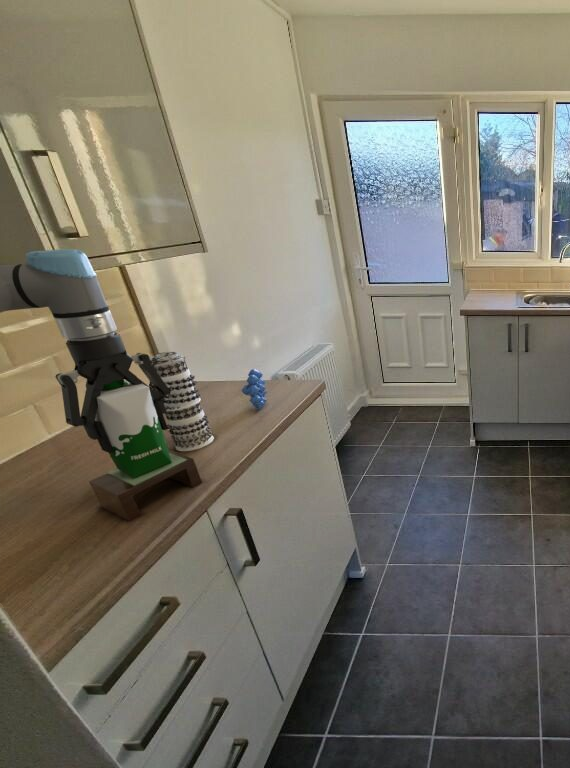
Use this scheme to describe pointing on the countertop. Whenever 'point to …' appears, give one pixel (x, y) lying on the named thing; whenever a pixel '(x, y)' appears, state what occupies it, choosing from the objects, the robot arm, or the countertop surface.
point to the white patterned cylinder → (182, 403)
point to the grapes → (255, 389)
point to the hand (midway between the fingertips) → (136, 439)
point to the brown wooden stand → (140, 484)
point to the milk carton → (132, 428)
